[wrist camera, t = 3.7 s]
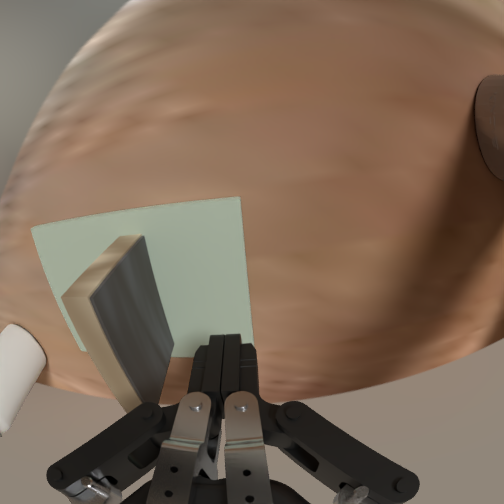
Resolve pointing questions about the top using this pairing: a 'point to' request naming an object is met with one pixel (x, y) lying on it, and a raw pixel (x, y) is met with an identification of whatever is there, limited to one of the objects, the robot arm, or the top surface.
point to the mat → (165, 263)
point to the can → (17, 371)
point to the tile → (123, 321)
